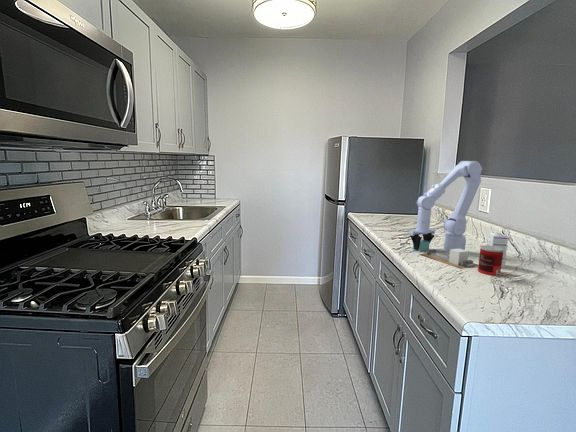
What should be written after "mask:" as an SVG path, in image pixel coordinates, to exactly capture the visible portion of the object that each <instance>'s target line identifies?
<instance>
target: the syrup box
mask: <svg viewBox="0 0 576 432" xmlns="http://www.w3.org/2000/svg"><path fill="white" fill-rule="evenodd" d="M508 240H509V236H508V235H506V234H504V233H500V232H489V233H488V237H487V245H488V246H496V247H500V248H502V249H503V258H502V265H501V269H505V268H506V259H507V250H508V249H507V248H508Z"/></svg>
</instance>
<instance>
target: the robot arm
mask: <svg viewBox="0 0 576 432" xmlns="http://www.w3.org/2000/svg"><path fill="white" fill-rule="evenodd" d="M482 170H483V167H482V165H481V164H480V162H479V161H477V160H472V161H471V160H461V161H459V162H458V164H456V165H455V166H454V167H453V169H452V170H451V171H450V172H449V173H448V174H447V175H446V176H445V178H443V179H442V180H441V182H440V183H435V184H432V185H431V186H430V187H431V188H430V189H429V190H428V191H426V192H424V194H423V195H421V196H419V197H418V198H417V200H416V205H417V207H418V208H417V209H418V210H417V219H416V220H417V221H416V228H415V229H413V230H410V231H409V236H410V238H411V241H412V245H413V246H414V249H415V250H418V249H419V244H420V241H421V239H423V240H426V241H430V243H429V245H430V244H431V242H432V240H433V239H434V237H435V234H436V229H433V228H430V227H431V216H432V208H434V206H435V203H436V202H437V201H438V199H440V198H441V197H443V195H444V194H445V193H446V189H447V188H448V187H449V186H450V185H452V183H454V182H455V181H456V180H457V179H459V178H460V177H461V178H462V177H463V178H464V180H465V182H466V183H465V185H464V187H463V190H462V192H461V195H460V197H459V198H458V201H457V204H456V206H455V209H454V211H453V213H452V214H450V215H449V216H448V218H447V219H446V220H445V221H444V222H443V225H442V226H443V230H445V231H444V232H445V233H444V240H443V241H444V242H443V250H444V251H445V252H449V253H450V250H451V249H459V248H460V249H463V250H466V245H467V243H466V242H467V240H466V236H465V234H464V233H466V230H467V229H466V228H467V227H466V226H467V222H468V221H467V218H466V216H467V214H468V212H469V210H470V208H471V205H472V203H473V201H474V198H475V196H476V194H477V191H478V189H479V187H480V185H481V183H482V177H481V176H482ZM420 235H422V236H420ZM413 246H412V247H413Z"/></svg>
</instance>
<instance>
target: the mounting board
mask: <svg viewBox="0 0 576 432" xmlns="http://www.w3.org/2000/svg"><path fill="white" fill-rule="evenodd" d="M436 253H439V254H443V255H446V256H449V255H448V254H445V253H443V252H439V251H436ZM418 256H421V257H425V258H426V259H427V258H428V259H429V260H433V261H436V262H439V263H442V264H444V265H448V266H451V267H453V268H457V269H459V270H462V269H468V268H469V269H470V268H474V267H478V264H476V263H474V262H473V266H471V267H463V266H462V265H456V264H453V263H450V262H449V261H446V260H443V259H440V258H437V257H434V256H431V255H427V254H426V252H425V253H420V254H419V253H418Z"/></svg>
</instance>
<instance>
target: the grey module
mask: <svg viewBox="0 0 576 432" xmlns="http://www.w3.org/2000/svg"><path fill="white" fill-rule="evenodd" d="M448 256H449V262H450V263H453V264H456V265H459V263H461V262H463V261H466V260H469V250H466V249H465V250H463V249H460V248H459V249H451V250H450V252H449V255H448Z"/></svg>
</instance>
